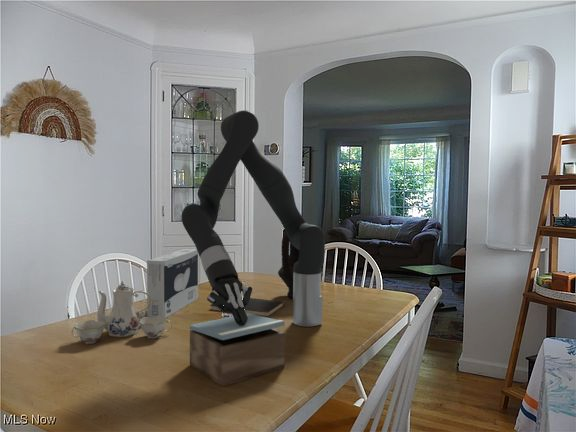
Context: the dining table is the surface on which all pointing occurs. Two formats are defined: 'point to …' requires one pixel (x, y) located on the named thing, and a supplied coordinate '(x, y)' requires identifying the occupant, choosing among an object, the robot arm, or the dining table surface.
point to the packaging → (172, 282)
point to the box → (237, 355)
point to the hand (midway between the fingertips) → (243, 323)
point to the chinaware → (121, 318)
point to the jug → (288, 263)
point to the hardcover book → (259, 306)
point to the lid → (236, 326)
